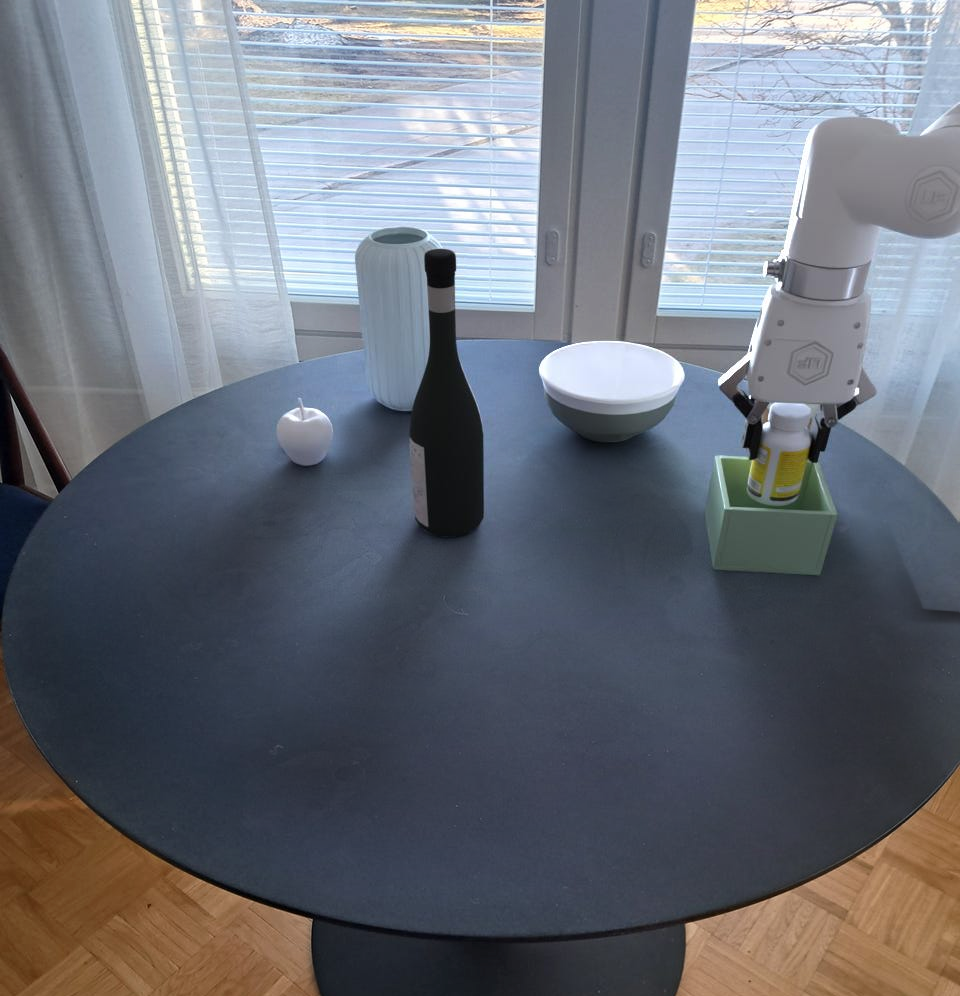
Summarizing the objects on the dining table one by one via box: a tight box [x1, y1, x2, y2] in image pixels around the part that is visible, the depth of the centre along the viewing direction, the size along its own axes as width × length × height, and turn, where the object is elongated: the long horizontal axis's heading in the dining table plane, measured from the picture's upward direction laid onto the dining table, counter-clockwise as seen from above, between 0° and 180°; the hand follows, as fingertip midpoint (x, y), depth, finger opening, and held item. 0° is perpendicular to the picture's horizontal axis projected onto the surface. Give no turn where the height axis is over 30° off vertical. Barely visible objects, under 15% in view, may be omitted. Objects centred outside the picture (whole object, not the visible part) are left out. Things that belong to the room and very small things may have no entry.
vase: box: [354, 225, 443, 412], centre depth 121 cm, size 12×12×22 cm
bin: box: [704, 455, 838, 576], centre depth 98 cm, size 11×11×8 cm
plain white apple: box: [275, 397, 334, 466], centre depth 113 cm, size 7×7×8 cm
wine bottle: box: [408, 248, 485, 538], centre depth 94 cm, size 8×8×30 cm
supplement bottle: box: [747, 403, 812, 506], centre depth 93 cm, size 5×5×10 cm
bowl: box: [538, 340, 686, 443], centre depth 119 cm, size 19×19×8 cm
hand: (780, 453), depth 93 cm, fingers closed on supplement bottle, 5 cm apart
